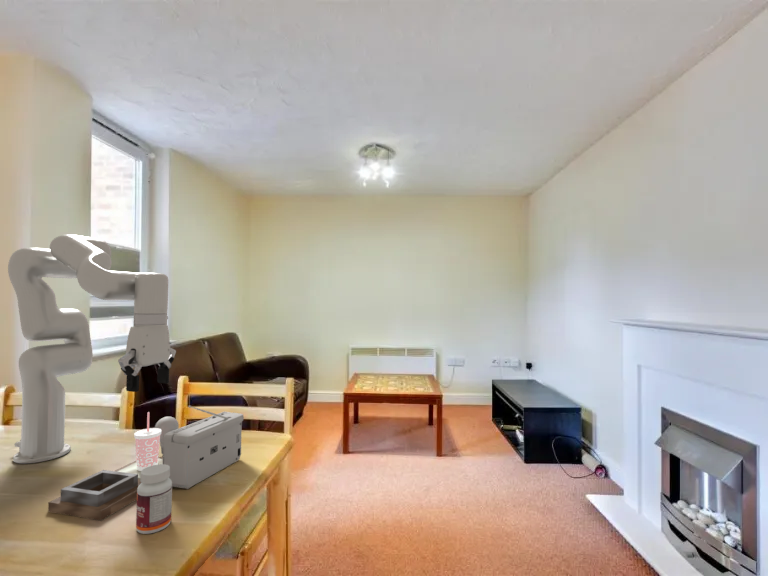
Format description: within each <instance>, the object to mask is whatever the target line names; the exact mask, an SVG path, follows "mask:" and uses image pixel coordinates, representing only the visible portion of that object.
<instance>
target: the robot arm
mask: <svg viewBox="0 0 768 576" xmlns="http://www.w3.org/2000/svg"><path fill="white" fill-rule="evenodd" d="M111 257H112V249H111V247H110V245H109V244H108V243H107V242H106V241H105V240H103V239H101V238H97V237H91V236H84V235H78V234H70V233H69V234H61V235H58V236H56V237H54V238H53V239H52V240H51V241H50V245H49V248H45V247H24V248H20V249H17V250H15V251H14V252H13V253H12V254H11V255H10V257H9V261H8V266H7V271H8V272H7V273H8V278H9V280H10V283H11V285H12V287H13V290H14V292H15V294H16V299H17V308H18V314H19V321H20V328H21V334H22V335H23V337H24V339H25V340H27V341H30V342H48V341H49V342H50V341H60V340H63V342H64V343H55V344H46V345H45V344H44V345H37V346H34V347H33V346H32V347H31V348H29V349H26V350H24V351H23V352H22V353H21V354H20V356H19V358H18V370H19V375H20V379H21V390H22V393H21V397H22V399H21V429H20V430H21V435H20V437H21V438H20V440H19V441H16V442H15V443H14V447H16V448H19V449H18V450H19V451H18V452H16V453H15V454H14V455H13V456H12V460H13V462H14V463H16V464H36V463H42V462H45V461H50V460H54V459H58V458H59V457H63V456H65V455H66V454H68V453H69V452H70V451H71V448H72V447H71V445H70V444H68V443H65V427H66V426H65V424H66V423H65V421H66V420H65V419H66V390H65V388H64V386H63V385H62V383H61V382H60V381H59V379H58V377H62V376H67V375H73V374H75V375H76V374H78V373H84V372H86V371H87V370H89V368H91V366H92V363H93V359H94V358H93V357H94V356H93V355H94V354H93V353H94V352H93V346H92V338H91V333H90V331H91V330H90V326H89V322H88V321H89V320H88V318H87V316H86V315H85V313H83V311H81V310H80V309H77V308H59V307H58V305H57V300H56V299H57V298H56V293H55V292H54V290H53V289H52V288H51V286H50V285H49V284H48V283H47V282H46V281H45V280H43V279H42V278H53V279H76V280H77V282H78V284H79V287H80V288H81V289H82V290H83V291H85V292H87V293H89V294H90V295H91V296H93V297H95V298H97V299H100V300H102V301H103V300H104V301H133V325H132V326H130V328H129V332H128V336H127V339H126V340H127V341H126V347H125V348H126V350H125V354H124V355H122V356H121V357H120V358H119V359H118V361H117V363H118V364H119V366H120V370H121V371H122V372H123V374H124V375H125V376H126V382H125V383H126V385H125V390H126V392H131V393H132V392H133V393H137V392H139V390H140V374H139V373H140V371H141V369H142V367H148V366H153V365H158V366H159V367H157V371H156V372H157V373H156V374H157V375H156V376H157V377H156V378H157V379H156V382H157V383H158V384H169V382H170V368H172V363H173V362H174V360H175V356H176V353H177V350H176V349H174V348H172V347H171V341H170V340H171V339H170V331H169V330H170V329H169V325H168V319H169V317H168V304H169V303H168V301H169V278H168V276H167V274H165V273H160V272H132V271H120V270H111V268H112V264H113V262H112V258H111Z"/></svg>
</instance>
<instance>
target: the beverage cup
mask: <svg viewBox="0 0 768 576" xmlns="http://www.w3.org/2000/svg"><path fill="white" fill-rule="evenodd" d="M146 416H147V417H146V428H143V429H140V430H138V431H136V432H134V433H133V435H134V437H133V438H134V439H135V457H136V460H135V461H136V462H137V470H138V471H142V470H143V469H145V468H147V467H149V466H153V465H158V457H159V456H160V455H159V453H160V435H161V432H162V430H161V429H159V428H155V427H150V411H148V412H147V415H146Z"/></svg>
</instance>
